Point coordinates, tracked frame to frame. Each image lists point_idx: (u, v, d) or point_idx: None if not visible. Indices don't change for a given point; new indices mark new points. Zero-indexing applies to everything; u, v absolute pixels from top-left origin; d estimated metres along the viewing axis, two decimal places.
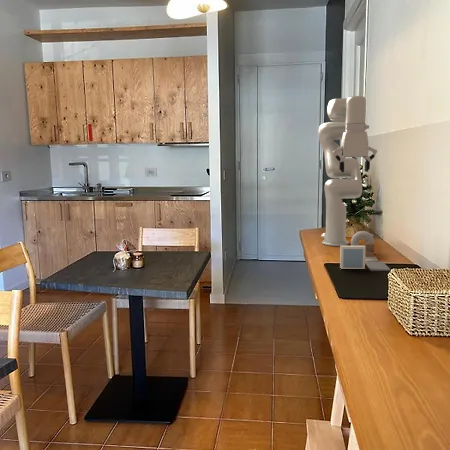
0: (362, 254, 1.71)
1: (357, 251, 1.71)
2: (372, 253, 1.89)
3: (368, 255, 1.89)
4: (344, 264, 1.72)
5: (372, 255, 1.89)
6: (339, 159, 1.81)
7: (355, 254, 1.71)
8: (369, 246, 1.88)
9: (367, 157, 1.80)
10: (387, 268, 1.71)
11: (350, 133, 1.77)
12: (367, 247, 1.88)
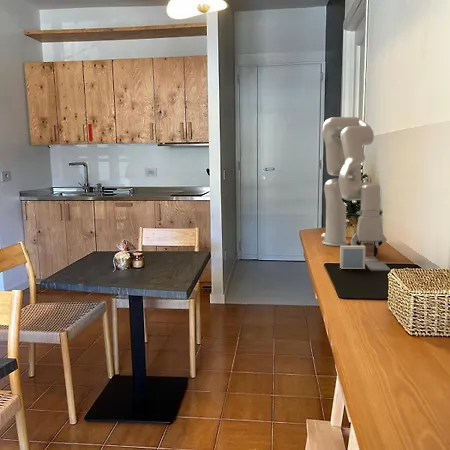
0: (362, 254, 1.71)
1: (357, 251, 1.71)
2: (372, 253, 1.89)
3: (368, 255, 1.89)
4: (344, 264, 1.72)
5: (372, 255, 1.89)
6: None
7: (355, 254, 1.71)
8: (369, 246, 1.88)
9: None
10: (387, 268, 1.71)
11: None
12: (367, 247, 1.88)
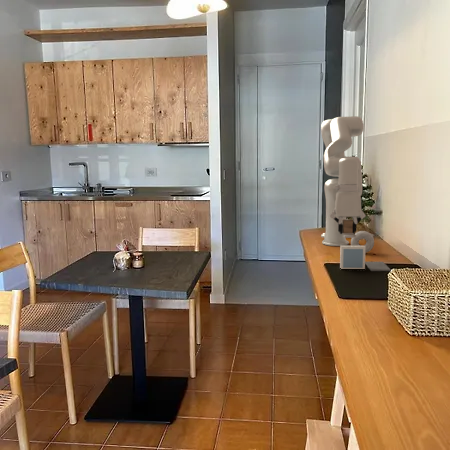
0: (362, 254, 1.71)
1: (357, 251, 1.71)
2: (351, 229, 1.82)
3: (346, 231, 1.83)
4: (344, 264, 1.72)
5: (351, 231, 1.82)
6: None
7: (355, 254, 1.71)
8: (347, 222, 1.82)
9: None
10: (387, 268, 1.71)
11: None
12: (345, 223, 1.82)
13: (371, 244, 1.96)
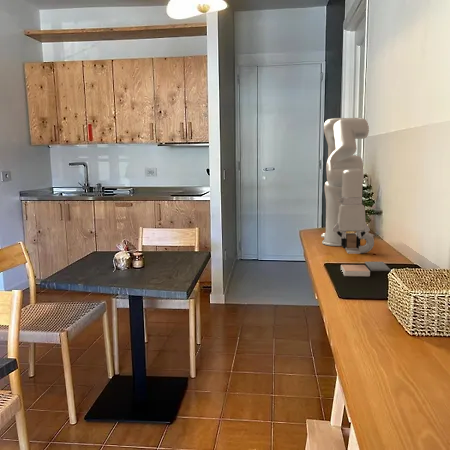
0: None
1: None
2: (354, 244, 1.75)
3: (350, 246, 1.75)
4: None
5: (354, 246, 1.75)
6: None
7: None
8: (351, 236, 1.74)
9: None
10: (387, 268, 1.71)
11: None
12: (349, 238, 1.74)
13: (371, 244, 1.96)
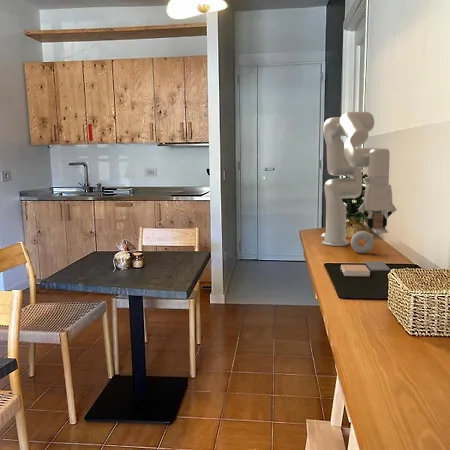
0: None
1: None
2: (381, 224, 1.73)
3: (376, 226, 1.74)
4: None
5: (381, 226, 1.73)
6: None
7: None
8: (378, 216, 1.73)
9: None
10: (387, 268, 1.71)
11: None
12: (375, 217, 1.73)
13: (371, 244, 1.96)
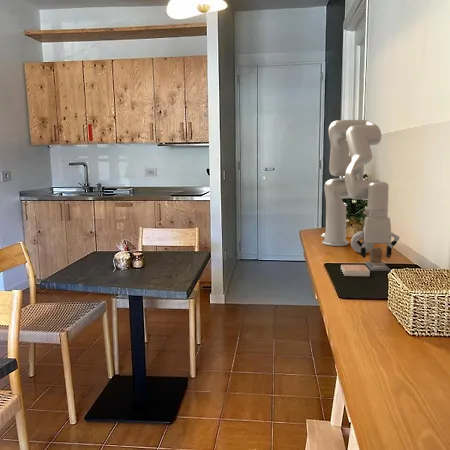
0: None
1: None
2: (380, 259, 1.76)
3: (375, 261, 1.76)
4: None
5: (379, 261, 1.76)
6: None
7: None
8: (376, 251, 1.75)
9: None
10: (387, 268, 1.71)
11: None
12: (374, 252, 1.75)
13: (371, 244, 1.96)
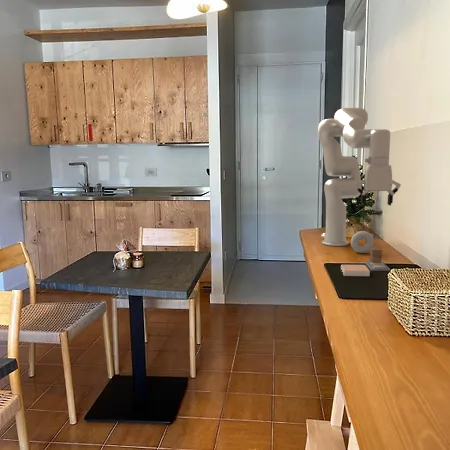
0: None
1: None
2: (380, 259, 1.76)
3: (375, 261, 1.76)
4: None
5: (379, 261, 1.76)
6: None
7: None
8: (376, 251, 1.75)
9: None
10: (387, 268, 1.71)
11: None
12: (374, 252, 1.75)
13: (371, 244, 1.96)
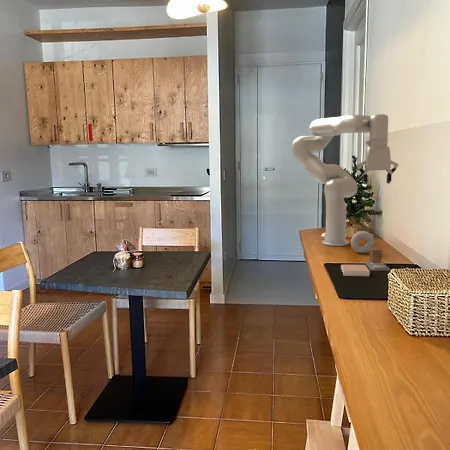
0: None
1: None
2: (380, 259, 1.76)
3: (375, 261, 1.76)
4: None
5: (379, 261, 1.76)
6: None
7: None
8: (376, 251, 1.75)
9: None
10: (387, 268, 1.71)
11: None
12: (374, 252, 1.75)
13: (371, 244, 1.96)
